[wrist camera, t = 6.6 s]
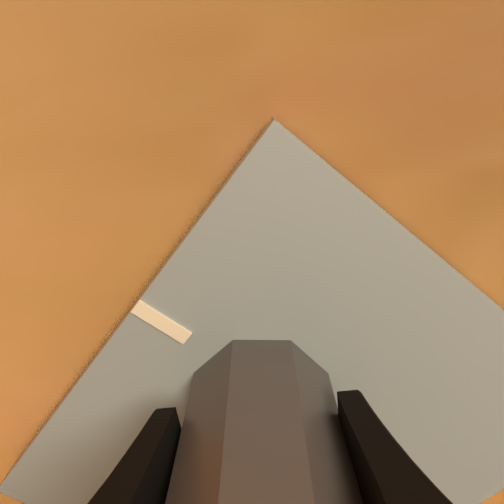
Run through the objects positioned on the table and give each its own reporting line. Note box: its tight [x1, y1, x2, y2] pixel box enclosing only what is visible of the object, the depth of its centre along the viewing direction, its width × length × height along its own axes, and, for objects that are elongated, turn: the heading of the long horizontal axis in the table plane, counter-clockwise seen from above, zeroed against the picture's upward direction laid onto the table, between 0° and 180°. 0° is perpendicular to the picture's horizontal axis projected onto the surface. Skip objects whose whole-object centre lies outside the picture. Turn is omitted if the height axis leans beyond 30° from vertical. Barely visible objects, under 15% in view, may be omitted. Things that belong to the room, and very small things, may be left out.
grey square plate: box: [0, 117, 504, 504], centre depth 13 cm, size 16×18×4 cm
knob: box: [165, 340, 363, 504], centre depth 10 cm, size 5×5×6 cm
